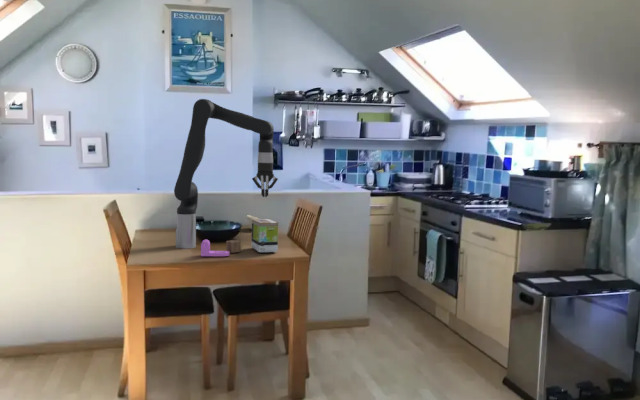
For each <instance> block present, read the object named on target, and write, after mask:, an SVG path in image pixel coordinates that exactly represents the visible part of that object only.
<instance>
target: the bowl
mask: <svg viewBox="0 0 640 400" xmlns="http://www.w3.org/2000/svg"><path fill="white" fill-rule="evenodd" d="M246 218H247V220H248V227H249V229H250V230H252V219H260V218H259V217H256V216H253V215H250V214H247V215H246Z"/></svg>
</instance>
